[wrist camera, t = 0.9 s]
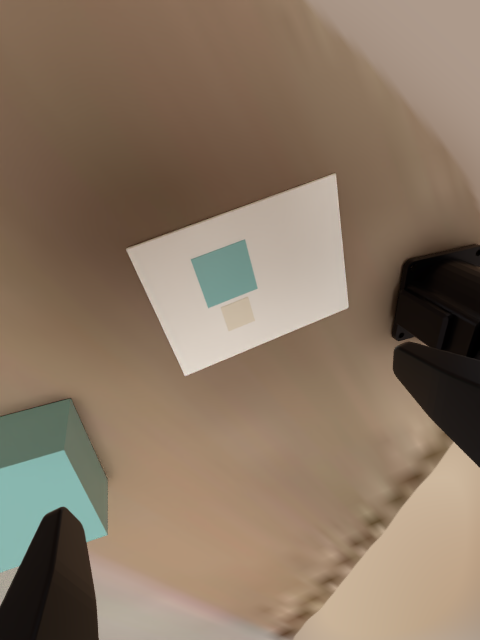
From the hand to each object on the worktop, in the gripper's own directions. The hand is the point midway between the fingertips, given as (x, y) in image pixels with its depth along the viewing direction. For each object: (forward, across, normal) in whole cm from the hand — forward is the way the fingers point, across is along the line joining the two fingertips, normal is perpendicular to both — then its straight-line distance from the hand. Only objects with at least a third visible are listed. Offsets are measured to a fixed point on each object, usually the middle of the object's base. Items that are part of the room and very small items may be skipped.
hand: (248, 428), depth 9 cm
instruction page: (+12, -5, +3) cm, 13 cm away
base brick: (+13, +12, +10) cm, 20 cm away
